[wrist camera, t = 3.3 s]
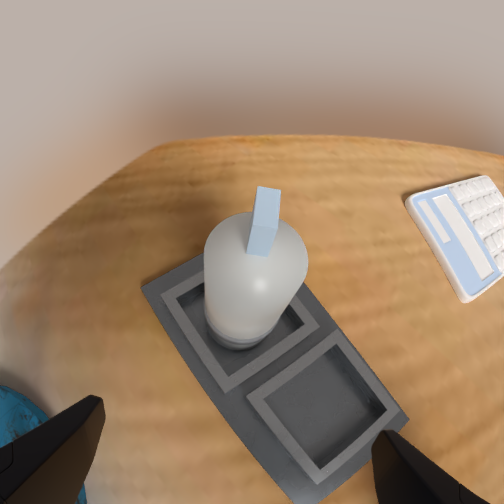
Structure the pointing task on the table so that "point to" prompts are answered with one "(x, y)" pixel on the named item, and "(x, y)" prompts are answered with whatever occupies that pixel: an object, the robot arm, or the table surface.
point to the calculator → (463, 232)
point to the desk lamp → (21, 421)
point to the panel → (283, 386)
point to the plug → (251, 273)
